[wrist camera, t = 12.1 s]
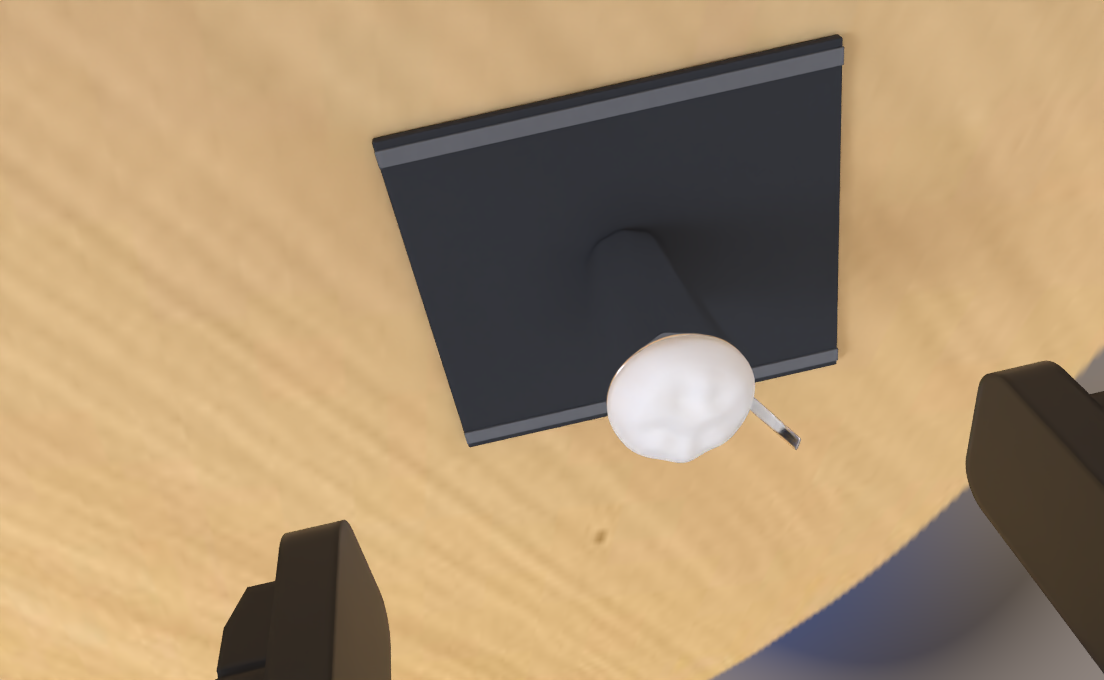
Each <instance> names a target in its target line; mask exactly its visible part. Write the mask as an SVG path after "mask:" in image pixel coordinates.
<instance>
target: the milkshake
mask: <svg viewBox="0 0 1104 680" xmlns="http://www.w3.org/2000/svg"><path fill="white" fill-rule="evenodd" d="M585 270H586V276H587V282H588V288H589V294H590V299H591V305H592V310H593V315H594V320H595V325H596V331H597V336H598V341H599V349H600V362H601V370H602V378H603V385H604V392H605V399H606V407H607V413H608V418H609V421H610V424H611V426H612V428H613V430H614V432H615V433H616V435H617V436H618V438H619V439H620V440H621V442H622V443H623V444H624V445H625V446H626V447H628V448H629V449H630V450H632V451H633V452H635V453H637V454H639V455H642V456H645V457H648V458H653V459H660V460H666V461H671V462H676V463H685V462H689V461H691V460H693V459H695V458H697V457H698V456H700V455H702V454H703V453H705V452H707V451H709V450H711V449H713V448H716V447H718V446H720V445H722V444H724V443H725V442H726V441H728V440H729V439H730V438H731V437H732V436H733V435H734V434H735V433H736V431H737V430H738V429H739V427H740V426H741V425H742V423H743V422H744V420H745V418H746V416H747V415H748V413H749V410H751V411H752V412H753V413H754V414H755V415H756V416H758V417H759V418H760V419H761V420H762V421H763V422H764V423H765V424H767V425H768V426H769V427H770V428H771V429H772V430H773V431H774V432H776V433H777V434H778V435H779V436H780V437H781V438H782V439H783V440H785V441H786V442H787V443H788V444H789V445H790V446H791V447H792V448H794V449H795V450H797V449H798V446H799V444H800V441H801V438H800V437H799V436H798V435H797V434H795V433H794V432H793V431H792V430H791V429H790V428H789V427H787V426H786V425H785V424H784V423H783V422H782V421H781V420H779V419H778V418H777V417H776V416H775V415H774V414H773V413H771V412H770V411H769V410H768V409H767V408H766V407H765V406H763V405H762V404H761V403H760V402H759V401H758V400H757V399H755V398H754V392H755V379H754V374H753V371H752V369H751V367H750V365H749V363H748V361H747V360H746V358H745V357H744V356H743V355H742V353H741V352H740V350H739V349H738V348H737V346H736V345H735V344H734V342H733V341H732V340H731V338H730V337H729V336H728V334H727V333H726V332H725V330H724V329H723V328H722V326H721V325H720V324H719V322H718V321H717V320H716V318H715V317H714V316H713V314H712V313H711V312H710V310H709V309H708V307H707V306H706V304H705V303H704V301H703V300H702V298H701V297H700V295H699V294H698V292H697V291H696V289H695V288H694V286H693V285H692V283H691V282H690V280H689V279H688V277H687V276H686V274H685V273H684V272H683V270H682V269H681V267H680V266H679V264H678V263H677V261H676V260H675V258H674V257H673V255H672V254H671V252H670V251H669V249H668V248H667V247H666V246H665V245H664V244H662V243H661V242H660V241H659V240H658V239H657V238H656V237H655V236H654V235H652V234H651V233H650V232H649V231H639V230H626V229H622V230H620V231H618V232H616V233H614V234H612V235H610V236H608V237H606V238H604V239H602V240H600V241H599V242H597V244H596V246H595V248H594V249H593V251H592V253H591V255H590V256H589V258H588V260H587V261H586V263H585Z"/></svg>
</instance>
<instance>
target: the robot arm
mask: <svg viewBox="0 0 1104 680" xmlns="http://www.w3.org/2000/svg"><path fill="white" fill-rule="evenodd" d="M966 474H967V478H968V482H969V486H970V489H971V491H972V493H973V496H974V498H975V500H976V502H977V504H978V505H979V507H980V508H981V510H982V511H983V513H984V514H985V515H986V516H987V518H988V519H989V521H990V522H991V523H992V524H993V526H994V527H995V529H996V530H997V531H998V533H999V534H1000V535H1001V536H1002V538H1003V539H1004V541H1005V542H1006V543H1007V545H1008V546H1009V547H1010V549H1011V550H1012V551H1013V553H1014V554H1015V555H1016V557H1017V558H1018V559H1019V561H1020V562H1021V563H1022V565H1023V566H1024V567H1025V569H1026V570H1027V571H1028V573H1029V574H1030V575H1031V577H1032V578H1033V579H1034V581H1035V582H1036V583H1037V585H1038V586H1039V587H1040V589H1041V590H1042V591H1043V593H1044V594H1045V596H1046V597H1047V598H1048V600H1049V601H1050V602H1051V604H1052V605H1053V606H1054V607H1055V609H1056V610H1057V612H1058V613H1059V614H1060V616H1061V617H1062V618H1063V619H1064V621H1065V622H1066V624H1067V625H1068V626H1069V628H1070V629H1071V630H1072V632H1073V633H1074V634H1075V636H1076V637H1077V638H1078V639H1079V641H1080V642H1081V644H1082V645H1083V646H1084V648H1085V649H1086V650H1087V652H1088V653H1089V654H1090V656H1091V657H1092V658H1093V660H1094V661H1095V662H1096V664H1097V665H1098V666H1099V668H1100V669H1101V670H1102V672H1103V673H1104V391H1103V392H1098V393H1094V394H1088V392H1087V391H1085V389H1084V388H1083V387H1081V386H1080V385H1079V384H1078V383H1077V382H1076V381H1075V380H1074V379H1073V378H1072V377H1071V376H1070V375H1069V374H1068V373H1067V372H1066V371H1065V370H1064V369H1063V368H1062V367H1060V366H1059V365H1058V364H1056V363H1054V362H1051V361H1042V362H1037V363H1033V364H1029V365H1024V366H1020V367H1016V368H1011V369H1007V370H1003V371H998V372H994V373H990V374H986V375H985V376H984V377H983V378H982V379H981V381H980V383H979V387H978V392H977V398H976V404H975V409H974V415H973V421H972V427H971V432H970V438H969V444H968V449H967V455H966ZM217 673H218V679H215V680H391V643H390V631H389V624H388V618H387V613H386V609H385V605H384V601H383V598H382V596H381V593H380V591H379V588H378V586H377V584H376V582H375V579H374V577H373V575H372V573H371V570H370V568H369V566H368V564H367V561H366V559H365V557H364V555H363V552H362V550H361V548H360V546H359V543H358V541H357V539H356V537H355V534H354V532H353V530H352V528H351V526H350V524H349V523H348V522H347V521H346V520H342V521H337V522H333V523H329V524H324V525H320V526H316V527H311V528H307V529H303V530H298V531H294V532H289V533H285V534H284V535H283V537H282V538H281V542H280V547H279V554H278V563H277V571H276V580H275V581H273V582H269V583H265V584H260V585H256V586H252V587H247V589H246V591H245V592H244V594H243V596H242V598H241V599H240V601H239V603H238V604H237V606H236V608H235V610H234V611H233V613H232V615H231V617H230V618H229V620H228V622H227V624H226V625H225V627H224V630H223V636H222V642H221V648H220V654H219V660H218V666H217Z"/></svg>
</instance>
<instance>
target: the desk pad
mask: <svg viewBox="0 0 1104 680" xmlns="http://www.w3.org/2000/svg"><path fill="white" fill-rule="evenodd" d="M842 41H843V38H842V37H841V36H840V35H833V36H829V37H824V38H820V39H816V40H811V41H807V42H802V43H798V44H793V45H789V46H784V47H780V48H775V49H771V50H766V51H762V52H758V53H753V54H749V55H744V56H740V57H735V58H731V59H726V60H722V61H717V62H713V63H709V64H704V65H700V66H695V67H691V68H686V69H682V70H677V71H673V72H668V73H664V74H659V75H655V76H651V77H646V78H642V79H637V80H633V81H628V82H624V83H619V84H615V85H610V86H606V87H601V88H597V89H593V90H588V91H584V92H579V93H575V94H570V95H566V96H561V97H557V98H552V99H548V100H543V101H539V102H535V103H530V104H526V105H521V106H517V107H512V108H508V109H503V110H499V111H494V112H490V113H485V114H481V115H477V116H472V117H468V118H463V119H459V120H454V121H450V122H445V123H441V124H436V125H432V126H427V127H423V128H419V129H414V130H410V131H405V132H401V133H396V134H392V135H387V136H383V137H378V138H374V139H373V141H372V144H373V148H374V151H375V156H376V159H377V162H378V165H379V168H380V169H381V173H382V176H383V179H384V182H385V185H386V188H387V191H388V195H389V198H390V201H391V204H392V207H393V210H394V213H395V216H396V220H397V223H398V226H399V229H400V232H401V235H402V238H403V242H404V245H405V248H406V251H407V254H408V257H409V260H410V263H411V267H412V270H413V273H414V276H415V279H416V282H417V285H418V289H419V292H420V295H421V298H422V301H423V304H424V307H425V310H426V314H427V317H428V320H429V323H430V326H431V329H432V332H433V336H434V339H435V342H436V345H437V348H438V351H439V354H440V358H441V361H442V364H443V367H444V370H445V373H446V376H447V379H448V383H449V386H450V389H451V392H452V395H453V398H454V401H455V405H456V408H457V411H458V414H459V417H460V420H461V423H462V426H463V430H464V434H465V437H466V441H467V444H468V445H469V447H473V446H477V445H482V444H486V443H490V442H495V441H499V440H504V439H508V438H513V437H517V436H521V435H526V434H530V433H535V432H539V431H543V430H548V429H552V428H557V427H561V426H565V425H570V424H574V423H579V422H583V421H587V420H592V419H596V418H601V417H605V416H608V413H607V407H606V399H605V392H604V385H603V378H602V370H601V362H600V349H599V341H598V336H597V331H596V325H595V320H594V315H593V310H592V305H591V299H590V294H589V288H588V282H587V276H586V270H585V263H586V261H587V260H588V258H589V256H590V255H591V253H592V251H593V249H594V248H595V246H596V244H597V242H599V241H600V240H602V239H604V238H606V237H608V236H610V235H612V234H614V233H616V232H618V231H620V230H622V229H626V230H639V231H649V232H650V233H651V234H652V235H654V236H655V237H656V238H657V239H658V240H659V241H660V242H661V243H662V244H664V245H665V246H666V247H667V248H668V249H669V251H670V252H671V254H672V255H673V257H674V258H675V260H676V261H677V263H678V264H679V266H680V267H681V269H682V270H683V272H684V273H685V274H686V276H687V277H688V279H689V280H690V282H691V283H692V285H693V286H694V288H695V289H696V291H697V292H698V294H699V295H700V297H701V298H702V300H703V301H704V303H705V304H706V306H707V307H708V309H709V310H710V312H711V313H712V314H713V316H714V317H715V318H716V320H717V321H718V322H719V324H720V325H721V326H722V328H723V329H724V330H725V332H726V333H727V334H728V336H729V337H730V338H731V340H732V341H733V342H734V344H735V345H736V346H737V348H738V349H739V350H740V352H741V353H742V355H743V356H744V357H745V358H746V360H747V361H748V363H749V365H750V367H751V369H752V371H753V374H754V379H755V382H759V381H764V380H768V379H772V378H777V377H781V376H786V375H790V374H794V373H799V372H803V371H808V370H812V369H816V368H821V367H825V366H830V365H834V364H836V360H838V348H837V302H838V250H839V198H840V145H841V93H842V65H844V47H843V46H842Z"/></svg>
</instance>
